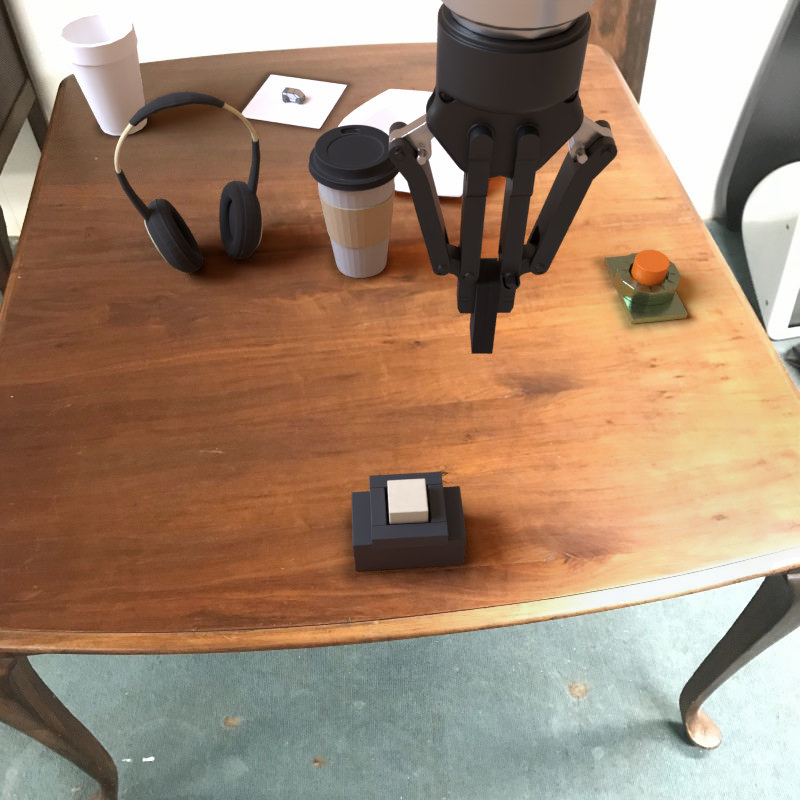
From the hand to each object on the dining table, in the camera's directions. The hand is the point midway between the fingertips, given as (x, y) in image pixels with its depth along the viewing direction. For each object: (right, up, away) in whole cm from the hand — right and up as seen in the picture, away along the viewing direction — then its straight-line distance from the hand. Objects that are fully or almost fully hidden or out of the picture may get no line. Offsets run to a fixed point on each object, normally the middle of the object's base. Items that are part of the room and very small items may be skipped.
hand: (480, 339), depth 56 cm
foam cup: (-44, +34, +52) cm, 76 cm away
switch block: (+21, +8, +29) cm, 37 cm away
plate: (-3, +29, +47) cm, 55 cm away
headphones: (-27, +12, +34) cm, 45 cm away
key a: (-5, -13, +6) cm, 15 cm away
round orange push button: (+21, +9, +28) cm, 36 cm away
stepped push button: (-5, -16, +10) cm, 20 cm away
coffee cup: (-10, +11, +33) cm, 36 cm away
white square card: (-21, +38, +55) cm, 70 cm away
